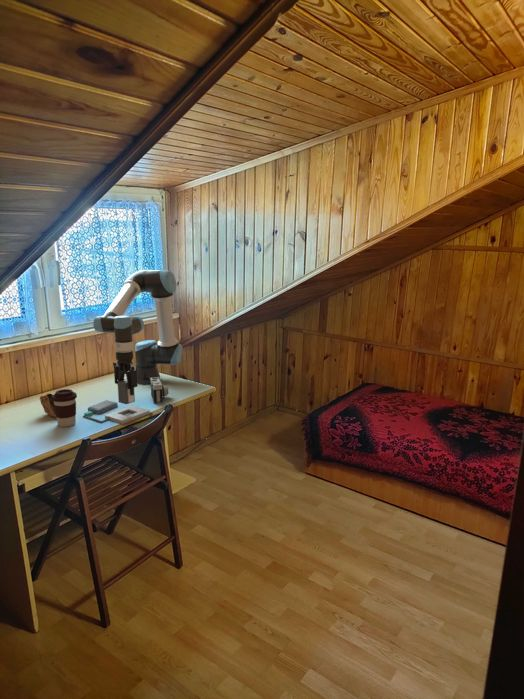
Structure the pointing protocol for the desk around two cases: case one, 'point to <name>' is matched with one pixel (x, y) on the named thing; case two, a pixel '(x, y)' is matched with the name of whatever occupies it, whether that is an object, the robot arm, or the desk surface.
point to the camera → (158, 390)
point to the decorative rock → (48, 404)
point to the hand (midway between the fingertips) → (126, 400)
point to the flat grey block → (102, 407)
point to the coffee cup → (65, 407)
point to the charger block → (123, 391)
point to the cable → (93, 418)
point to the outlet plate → (127, 414)
